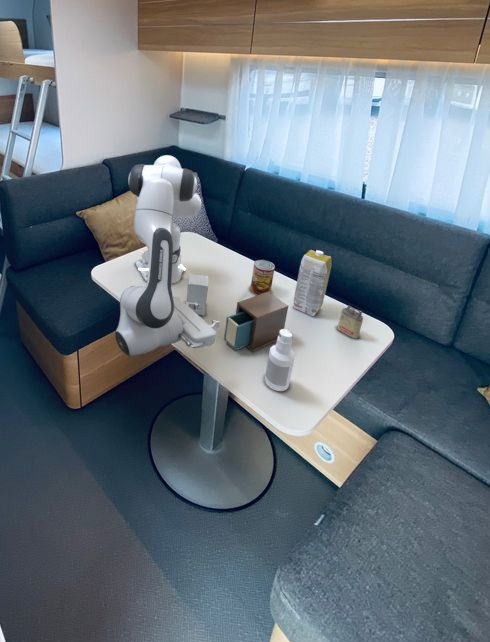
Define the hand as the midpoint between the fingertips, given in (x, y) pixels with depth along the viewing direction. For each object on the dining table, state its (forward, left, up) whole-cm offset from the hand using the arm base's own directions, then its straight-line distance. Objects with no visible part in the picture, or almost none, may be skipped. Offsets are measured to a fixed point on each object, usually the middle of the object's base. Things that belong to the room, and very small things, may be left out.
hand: (208, 313), depth 124 cm
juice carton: (-3, +51, -17) cm, 54 cm away
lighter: (+13, +53, -17) cm, 57 cm away
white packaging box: (-22, +13, -17) cm, 31 cm away
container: (0, +17, -16) cm, 24 cm away
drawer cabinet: (0, +23, -17) cm, 29 cm away
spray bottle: (+18, +13, -17) cm, 28 cm away
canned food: (-20, +44, -17) cm, 51 cm away
